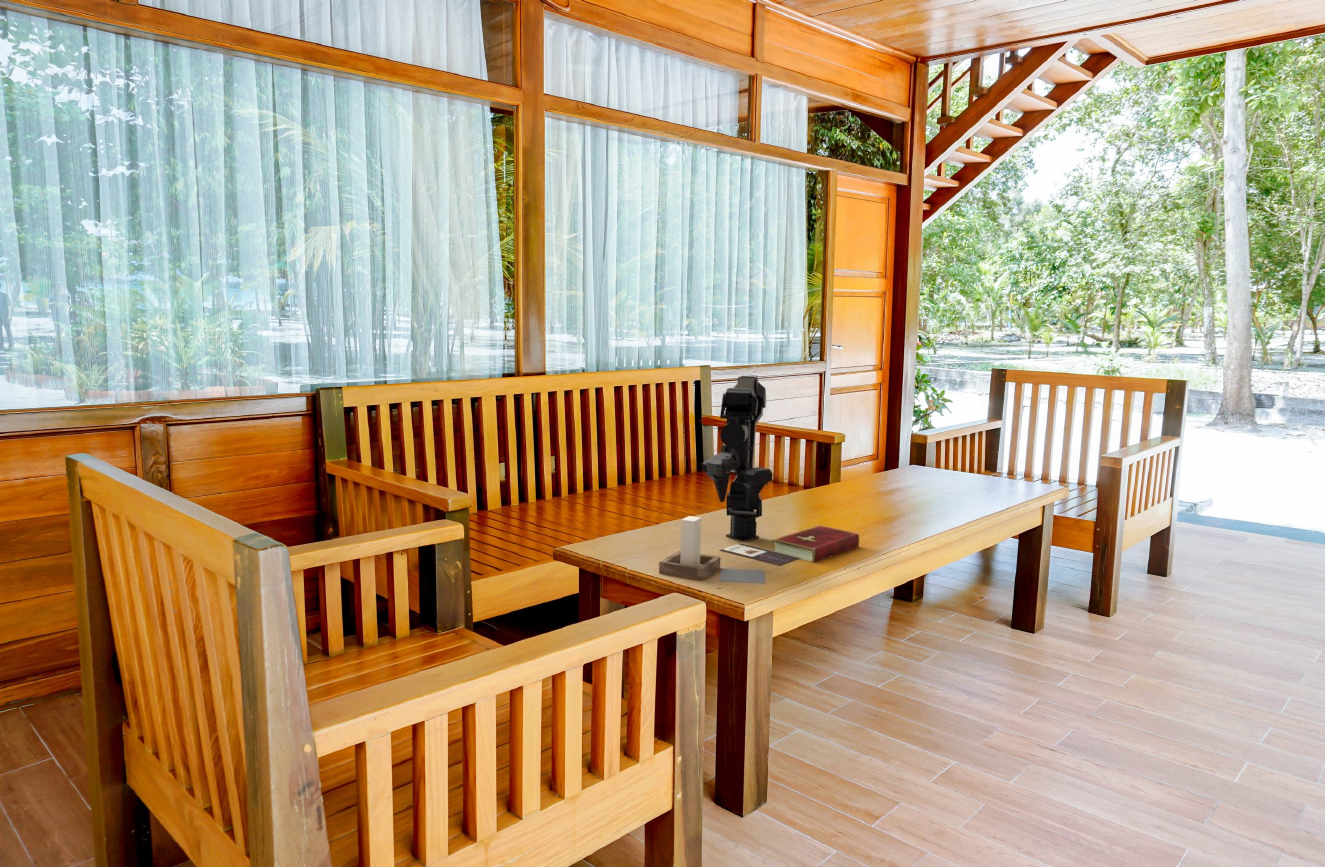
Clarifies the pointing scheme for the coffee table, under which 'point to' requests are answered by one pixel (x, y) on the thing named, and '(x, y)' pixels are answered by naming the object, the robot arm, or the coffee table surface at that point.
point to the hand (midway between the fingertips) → (735, 505)
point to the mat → (742, 575)
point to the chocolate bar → (760, 554)
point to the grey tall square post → (690, 541)
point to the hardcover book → (817, 543)
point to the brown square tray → (689, 566)
